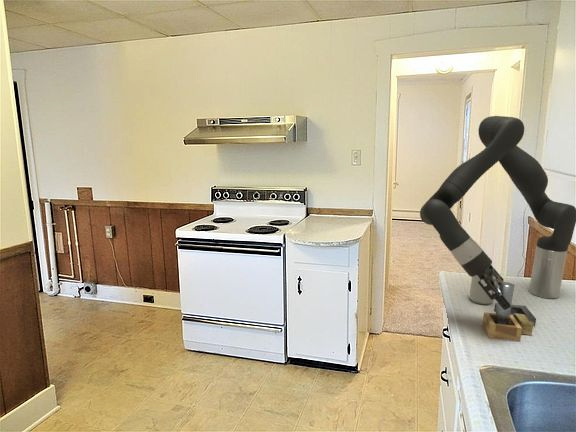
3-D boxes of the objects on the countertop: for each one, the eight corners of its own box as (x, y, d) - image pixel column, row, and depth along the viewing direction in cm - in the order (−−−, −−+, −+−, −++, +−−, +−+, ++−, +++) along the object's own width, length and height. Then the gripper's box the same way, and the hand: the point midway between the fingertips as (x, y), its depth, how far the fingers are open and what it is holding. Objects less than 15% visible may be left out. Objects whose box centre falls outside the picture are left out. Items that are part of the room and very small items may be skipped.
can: (491, 307, 135) (496, 273, 132) (467, 302, 139) (471, 268, 136) (494, 299, 141) (499, 266, 138) (470, 294, 145) (475, 262, 142)
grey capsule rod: (491, 328, 121) (498, 281, 118) (504, 330, 120) (512, 282, 117) (494, 334, 118) (502, 286, 114) (508, 336, 117) (516, 287, 114)
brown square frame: (482, 324, 124) (483, 312, 123) (510, 327, 122) (512, 315, 121) (489, 337, 116) (491, 325, 115) (520, 341, 114) (522, 328, 113)
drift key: (512, 322, 125) (514, 311, 124) (523, 323, 124) (525, 312, 124) (520, 333, 118) (522, 322, 117) (531, 334, 118) (533, 323, 117)
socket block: (494, 309, 133) (495, 302, 133) (524, 312, 132) (525, 305, 131) (502, 323, 125) (503, 315, 124) (534, 326, 123) (536, 318, 123)
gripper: (478, 256, 111) (520, 305, 108) (484, 243, 123) (522, 287, 120) (455, 270, 115) (495, 318, 112) (463, 256, 127) (499, 299, 124)
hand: (509, 302), depth 116 cm, fingers open, 8 cm apart
